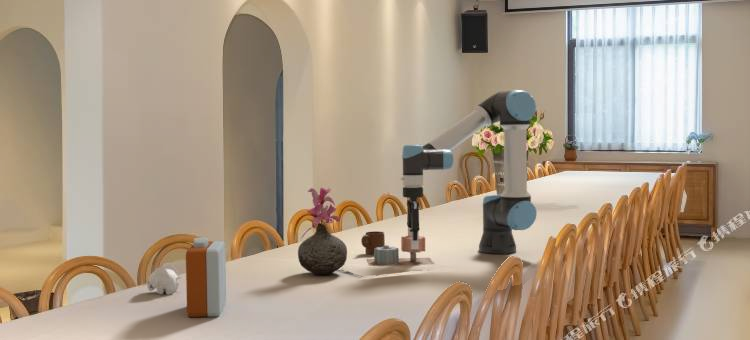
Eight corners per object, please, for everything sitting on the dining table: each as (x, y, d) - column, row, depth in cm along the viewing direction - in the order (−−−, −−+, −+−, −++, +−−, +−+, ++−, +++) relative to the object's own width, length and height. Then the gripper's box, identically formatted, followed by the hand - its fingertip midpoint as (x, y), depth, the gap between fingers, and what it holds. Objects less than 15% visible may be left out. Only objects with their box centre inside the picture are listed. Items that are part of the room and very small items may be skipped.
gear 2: (423, 248, 298) (423, 235, 298) (426, 252, 290) (426, 238, 290) (400, 248, 298) (400, 235, 298) (402, 252, 289) (402, 239, 289)
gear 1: (391, 259, 299) (391, 245, 299) (402, 262, 291) (402, 249, 291) (370, 261, 295) (370, 247, 295) (381, 264, 287) (381, 250, 287)
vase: (353, 271, 281) (352, 187, 279) (335, 280, 264) (334, 191, 263) (310, 269, 286) (309, 186, 285) (289, 277, 270) (288, 190, 268)
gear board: (429, 260, 302) (429, 242, 301) (434, 267, 288) (434, 247, 287) (366, 262, 300) (366, 243, 299) (369, 268, 286) (368, 248, 285)
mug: (370, 260, 305) (370, 235, 304) (354, 258, 309) (354, 234, 309) (388, 255, 314) (388, 232, 314) (373, 254, 319) (373, 230, 318)
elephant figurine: (148, 289, 252) (148, 262, 252) (186, 289, 252) (185, 261, 252) (139, 296, 243) (138, 267, 242) (177, 296, 243) (177, 267, 242)
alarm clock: (196, 303, 232) (194, 233, 231) (226, 302, 233) (225, 233, 231) (186, 318, 213) (185, 243, 212) (219, 317, 214) (218, 242, 213)
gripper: (399, 184, 303) (399, 243, 304) (406, 188, 282) (406, 252, 283) (419, 184, 304) (419, 242, 305) (427, 188, 282) (427, 251, 283)
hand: (413, 247), depth 294 cm, fingers closed on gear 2, 9 cm apart
